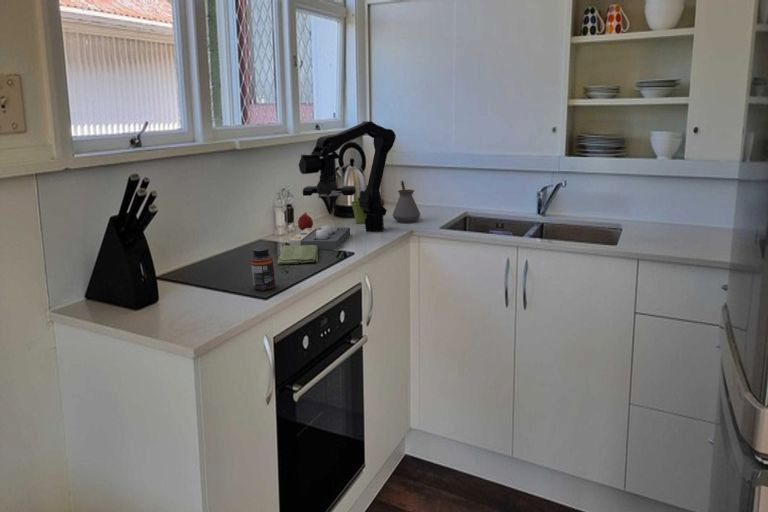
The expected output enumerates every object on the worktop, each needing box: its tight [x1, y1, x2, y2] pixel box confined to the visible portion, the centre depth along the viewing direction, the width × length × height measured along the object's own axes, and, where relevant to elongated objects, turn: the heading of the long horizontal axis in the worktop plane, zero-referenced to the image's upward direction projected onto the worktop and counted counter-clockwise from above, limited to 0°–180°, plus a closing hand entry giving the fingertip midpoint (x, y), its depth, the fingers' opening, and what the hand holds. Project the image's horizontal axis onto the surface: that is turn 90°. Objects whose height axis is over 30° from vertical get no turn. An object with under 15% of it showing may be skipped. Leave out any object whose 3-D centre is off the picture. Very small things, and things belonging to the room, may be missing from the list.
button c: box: [316, 229, 328, 240], centre depth 210 cm, size 4×4×4 cm
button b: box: [320, 224, 333, 236], centre depth 217 cm, size 4×4×4 cm
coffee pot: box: [392, 180, 421, 224], centre depth 252 cm, size 21×12×15 cm, turn 3°
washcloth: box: [277, 244, 319, 266], centre depth 197 cm, size 13×18×3 cm
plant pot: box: [350, 200, 367, 225], centre depth 249 cm, size 9×9×9 cm
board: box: [302, 227, 351, 250], centre depth 217 cm, size 12×22×3 cm, turn 170°
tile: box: [288, 227, 317, 246], centre depth 219 cm, size 4×20×3 cm, turn 170°
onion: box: [297, 212, 314, 232], centre depth 234 cm, size 6×6×8 cm
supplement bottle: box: [250, 246, 276, 291], centre depth 166 cm, size 6×6×11 cm
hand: (330, 213), depth 222 cm, fingers closed
